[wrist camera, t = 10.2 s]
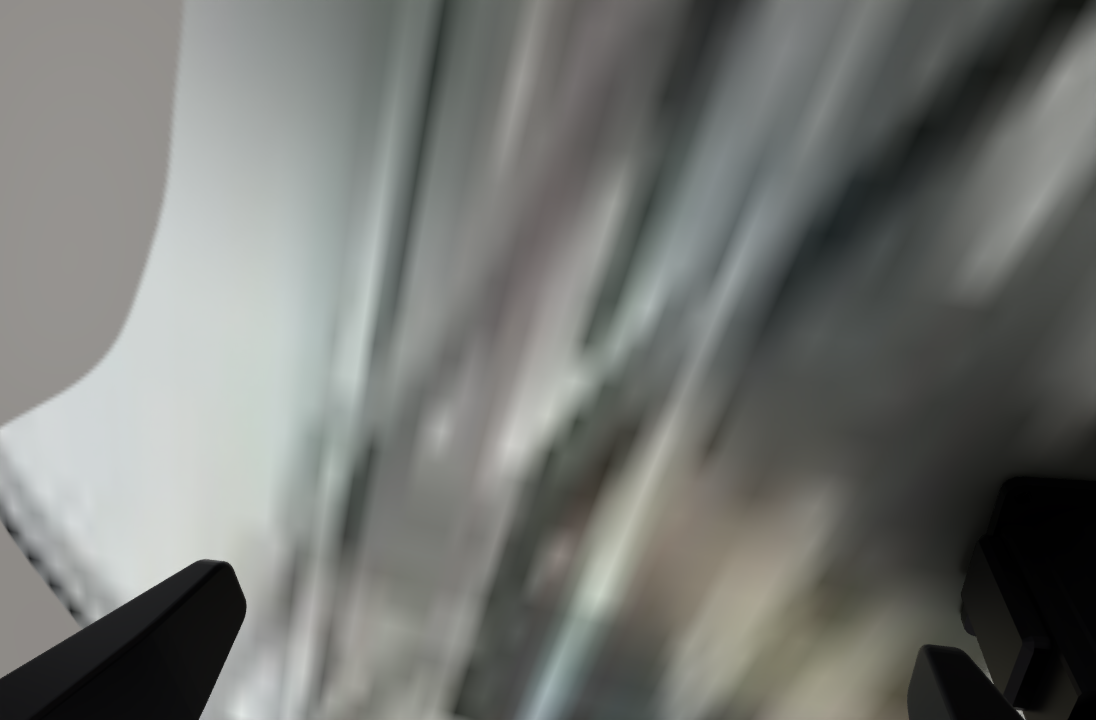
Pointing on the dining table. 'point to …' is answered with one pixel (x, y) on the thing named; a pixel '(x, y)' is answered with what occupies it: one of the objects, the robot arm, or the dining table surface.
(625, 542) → the dining table surface
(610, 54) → the dining table surface
